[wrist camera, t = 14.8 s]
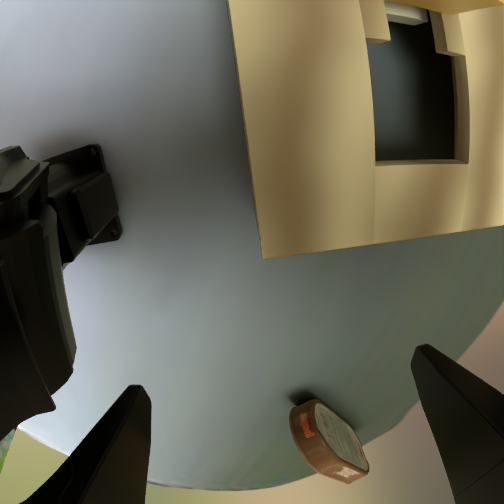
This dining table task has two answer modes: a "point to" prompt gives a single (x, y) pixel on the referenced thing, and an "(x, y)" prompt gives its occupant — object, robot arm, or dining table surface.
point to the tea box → (5, 446)
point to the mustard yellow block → (431, 8)
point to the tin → (327, 442)
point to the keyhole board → (360, 127)
